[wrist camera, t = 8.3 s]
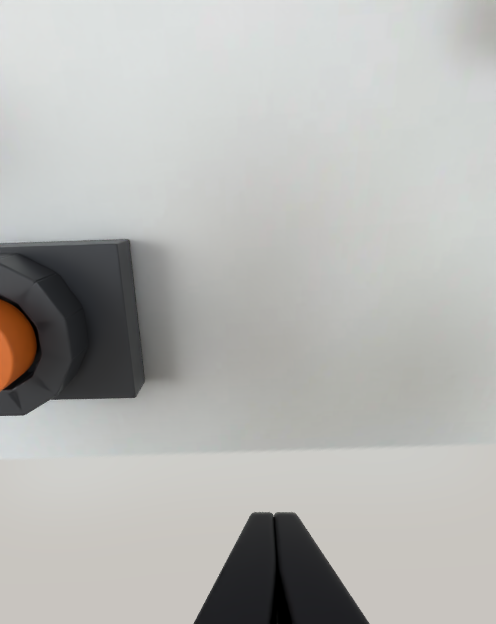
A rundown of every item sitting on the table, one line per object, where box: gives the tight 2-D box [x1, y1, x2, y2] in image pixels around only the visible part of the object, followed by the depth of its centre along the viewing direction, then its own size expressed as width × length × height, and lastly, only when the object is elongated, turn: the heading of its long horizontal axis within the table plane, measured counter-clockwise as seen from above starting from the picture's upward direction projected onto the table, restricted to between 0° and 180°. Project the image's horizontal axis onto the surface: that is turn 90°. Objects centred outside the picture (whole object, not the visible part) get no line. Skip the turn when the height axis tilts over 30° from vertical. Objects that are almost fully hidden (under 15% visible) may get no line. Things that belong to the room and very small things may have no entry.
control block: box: [0, 239, 145, 416], centre depth 18 cm, size 7×10×4 cm
